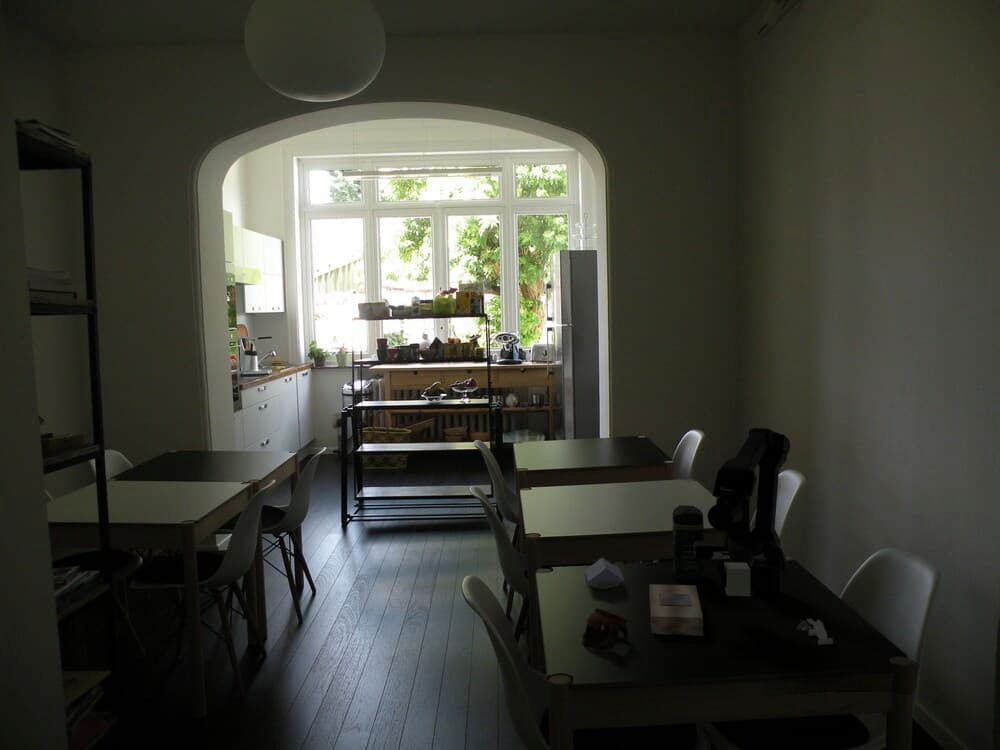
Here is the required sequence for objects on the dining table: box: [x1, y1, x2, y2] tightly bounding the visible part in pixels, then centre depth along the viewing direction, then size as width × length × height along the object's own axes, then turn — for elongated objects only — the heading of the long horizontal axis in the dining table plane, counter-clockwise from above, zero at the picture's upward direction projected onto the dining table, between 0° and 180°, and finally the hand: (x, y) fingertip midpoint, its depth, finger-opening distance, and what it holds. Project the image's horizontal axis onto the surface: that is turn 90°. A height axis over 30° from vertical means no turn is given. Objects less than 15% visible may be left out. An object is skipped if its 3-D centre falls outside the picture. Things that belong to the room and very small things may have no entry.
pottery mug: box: [581, 607, 629, 652], centre depth 170 cm, size 12×10×8 cm
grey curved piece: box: [796, 618, 834, 646], centre depth 173 cm, size 15×7×4 cm, turn 2°
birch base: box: [648, 583, 704, 637], centre depth 183 cm, size 11×20×4 cm, turn 171°
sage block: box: [724, 561, 751, 597], centre depth 180 cm, size 5×5×6 cm
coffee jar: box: [671, 504, 705, 583], centre depth 209 cm, size 10×8×19 cm
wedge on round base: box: [584, 557, 625, 589], centre depth 206 cm, size 9×7×13 cm
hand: (737, 587), depth 180 cm, fingers closed on sage block, 5 cm apart
